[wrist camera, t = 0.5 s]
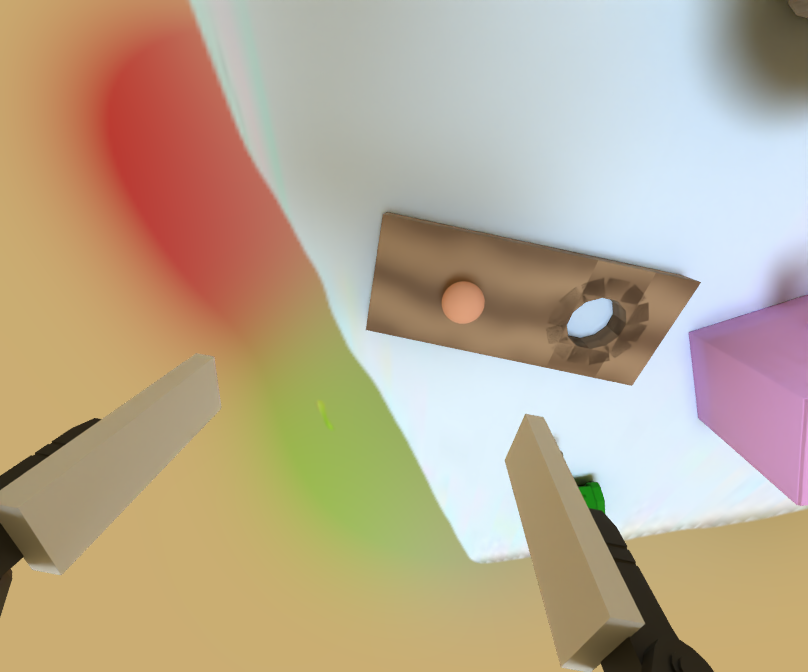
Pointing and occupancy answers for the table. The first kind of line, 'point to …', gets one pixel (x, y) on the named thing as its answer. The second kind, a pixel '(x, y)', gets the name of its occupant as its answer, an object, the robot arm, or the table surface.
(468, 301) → the coral ball
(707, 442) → the table surface
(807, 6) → the decorative mushroom
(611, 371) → the walnut board
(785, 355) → the teapot
